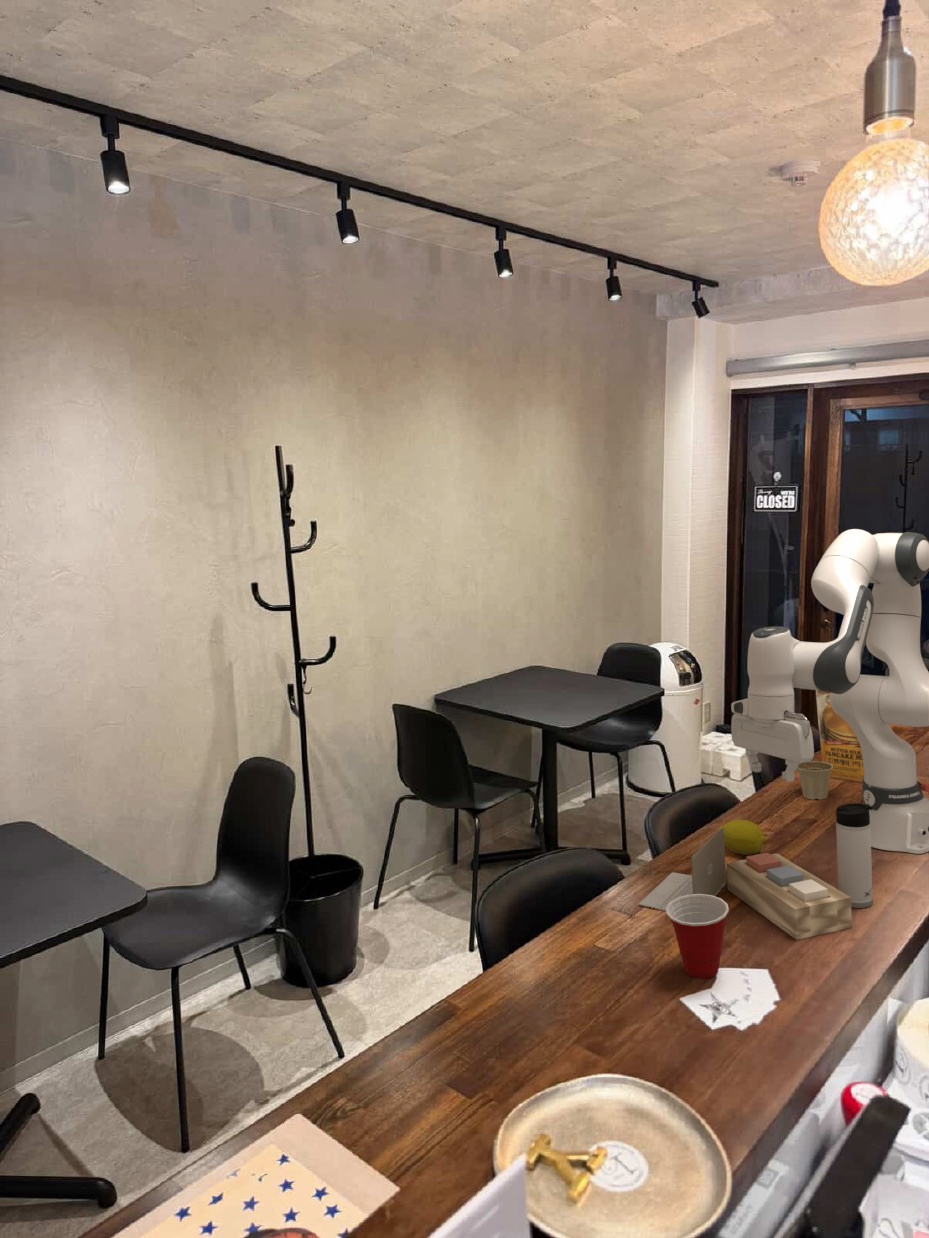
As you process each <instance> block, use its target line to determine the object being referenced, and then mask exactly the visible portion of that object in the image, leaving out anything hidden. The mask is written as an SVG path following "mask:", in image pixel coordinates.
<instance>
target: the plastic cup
mask: <svg viewBox="0 0 929 1238" xmlns="http://www.w3.org/2000/svg"><path fill="white" fill-rule="evenodd" d="M729 912H730V911H729V905H728V903H727V902H726V901H725V900H723V899H722V898H721V897H717V896H713V895H705V894H691V895H685V896H681V897H678V898H676V899H674V900H672V901H671V902H670V903H669V904H668V905H667V907H666V912H665V913H666V915H667V917H668V918H669V919H670V922H671V923H672V927H673V928H674V932H675V937H676V941H677V946H678V950H679V953H680V955H681V959H682V964H683V968H684V970H685V973H687V975H688V976H691V977H693V978H698V979H710V978H713V977H715V976H716V975H717V974H718V973H719V969H720V961H721V955H722V949H723V941H724V931H725V925H726V921H727V915H728V914H729Z"/></svg>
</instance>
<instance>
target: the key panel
mask: <svg viewBox="0 0 929 1238" xmlns="http://www.w3.org/2000/svg"><path fill="white" fill-rule="evenodd" d="M770 855H772V856H774V857H775V858H777V859H779V860H780V861H781V867H783V866H788V865H789V866H790V867H792V868H794V869H795V870H797V871H799V872H800V873H802V874H804V881H805V880H810V879H812V880H814V881H815V882H817V883H818V884H820V885H822V886H823V887H825V888H827V889H828V898H825V899H820V900H815V901H810V902H805V903H804V902H803V901H801V900H800V899H798V898H797V897H795V896H793V895H792V894H790V893H789V886H785V887H780V886H778V885H777V884H775V883H774V882H772V881H770V880H769V879H767V872H763V873H758V872H757V871H755V870H754V869H752V868H751V867H749V866H747V863H746V858H745V859H740V860H735V861H730V862H726V882H727V890H728V891H729V892H730V893H731V894H733V895H734V896H735V897H737V898H738V899H740V900H741V901H743V902H744V903H745V904H746V905H748V906H750V908H752V909H753V910H754V911H756V912H757V913H759V914H760V915H762V917H763V916H764V918H766V919H767V920H768V921H770V922H771V923H773V924H774V925H775V926H777V927H778V928H779V929H780V930H782V931H784V932H785V933H786V934H787V935H789V936H791V937H792V938H793V939H794V940H796V941H798V940H802V939H808V938H811V937H816V936H821V935H825V934H829V933H830V934H831V933H833V932H835V933H836V932H838V931H843V930H847V929H852V928H853V917H852V916H853V915H852V907H851V897H849V896H848V895H846V894H844V893H843V892H841V891H839V890H838V888H836V887H834V886H833V885H831V884H830V883H827V882H826V881H824V880H822V879H820V878H819V877H817V876H816V875H814V874H812V873H810V872H809V871H807V870H805V868H804V869H803V867H800V866H799V865H797V864H795V863H793V862H792V861H790V860H788V859H787V858H786V857H783V856H782V855H781V854H779V853H777V852H776V853H772V854H770Z"/></svg>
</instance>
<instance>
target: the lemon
mask: <svg viewBox="0 0 929 1238" xmlns="http://www.w3.org/2000/svg"><path fill="white" fill-rule="evenodd" d="M721 828H723V830H724V846H726V847H727V848H728V849H729V850H731V851H732V852H734V853H737V854H739V855H743V856H751V855H756V854H758V853H760V852H761V850H762V849H763V848H764V847H763V846H764V844H766V841H767V840H766V838H765V836H764V832H763V830H762V828H761V826H759V824H756V823H755V822H753V821H751V820H747V819H734V820H731V821H729V822H727V823H725V824H723V825H721V826H719V828H718V829H717V832H718V831H719V830H720V829H721Z"/></svg>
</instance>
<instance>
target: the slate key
mask: <svg viewBox="0 0 929 1238" xmlns="http://www.w3.org/2000/svg"><path fill="white" fill-rule="evenodd" d="M767 879H769V880H770V881H772V882H774V883H775V884H777V885H778V886H780V887H785V886H789V884H790V883H795V882H800V881H804V874H802V873H800V872H799V871H797V870H795V869H794V868H792V867H790V866H789V865H788V866H783V867H778V868H773V869H767Z"/></svg>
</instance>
